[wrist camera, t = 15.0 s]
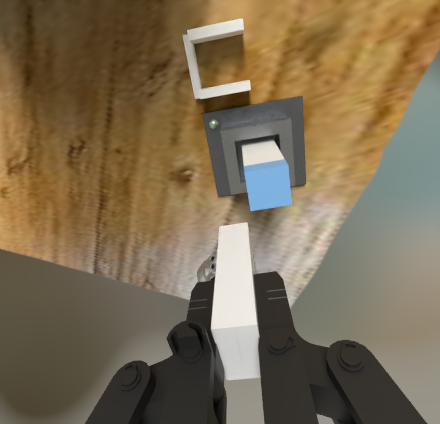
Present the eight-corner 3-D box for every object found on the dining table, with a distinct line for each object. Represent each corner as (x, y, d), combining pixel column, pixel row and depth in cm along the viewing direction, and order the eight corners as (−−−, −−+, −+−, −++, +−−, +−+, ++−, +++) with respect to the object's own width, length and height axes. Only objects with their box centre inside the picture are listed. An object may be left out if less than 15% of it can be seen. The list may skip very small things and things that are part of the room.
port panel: (202, 113, 37) (198, 118, 33) (301, 95, 36) (310, 98, 31) (218, 194, 43) (216, 209, 38) (305, 182, 41) (313, 195, 37)
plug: (241, 140, 38) (244, 172, 26) (270, 134, 38) (288, 165, 25) (245, 167, 40) (250, 211, 27) (273, 163, 39) (291, 204, 27)
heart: (182, 257, 48) (180, 317, 38) (216, 219, 44) (223, 275, 34) (228, 279, 52) (237, 339, 42) (262, 246, 48) (281, 304, 38)
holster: (184, 36, 34) (178, 32, 30) (241, 24, 33) (242, 18, 29) (196, 98, 37) (191, 100, 33) (249, 88, 36) (250, 89, 32)
